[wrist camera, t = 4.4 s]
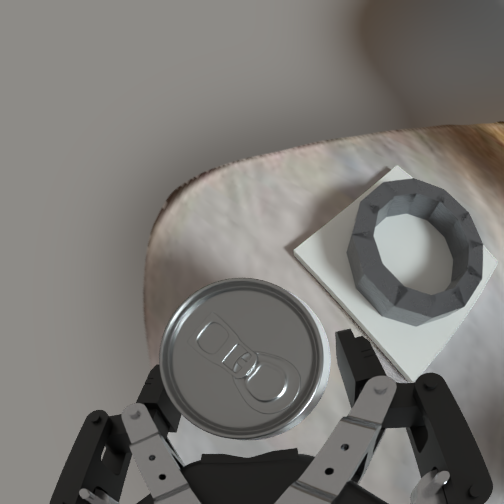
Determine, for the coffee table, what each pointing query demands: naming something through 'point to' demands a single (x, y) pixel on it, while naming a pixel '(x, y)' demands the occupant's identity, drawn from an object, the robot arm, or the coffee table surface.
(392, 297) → the collar
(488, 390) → the coffee table surface
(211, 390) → the can
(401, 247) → the socket plate
